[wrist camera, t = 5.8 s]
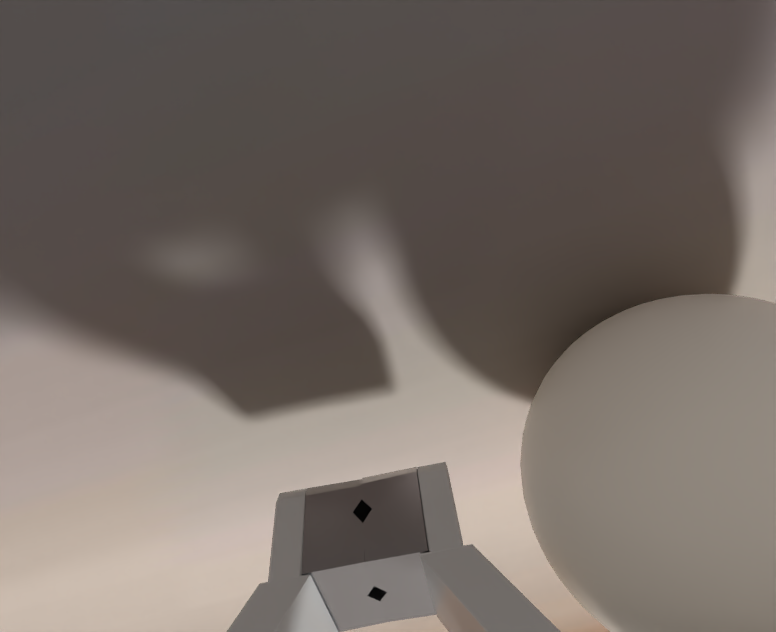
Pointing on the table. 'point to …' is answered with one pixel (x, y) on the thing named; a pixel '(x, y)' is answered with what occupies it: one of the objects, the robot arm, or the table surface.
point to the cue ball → (662, 466)
